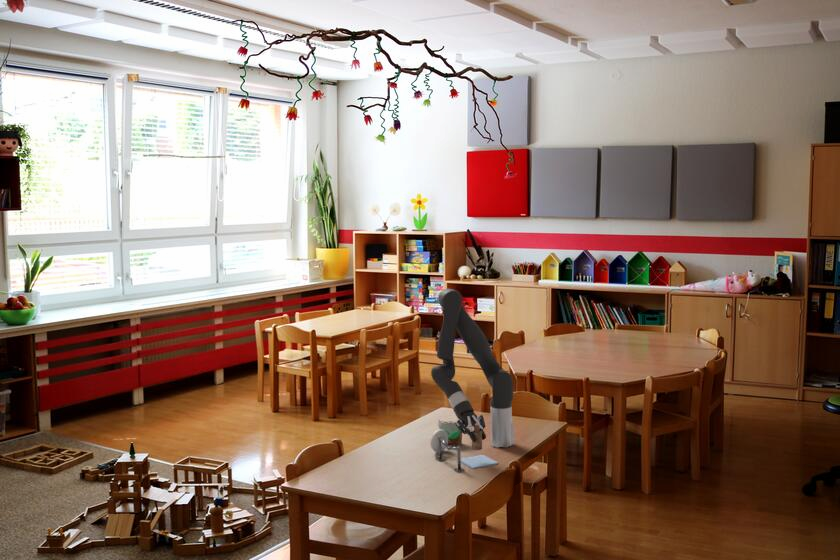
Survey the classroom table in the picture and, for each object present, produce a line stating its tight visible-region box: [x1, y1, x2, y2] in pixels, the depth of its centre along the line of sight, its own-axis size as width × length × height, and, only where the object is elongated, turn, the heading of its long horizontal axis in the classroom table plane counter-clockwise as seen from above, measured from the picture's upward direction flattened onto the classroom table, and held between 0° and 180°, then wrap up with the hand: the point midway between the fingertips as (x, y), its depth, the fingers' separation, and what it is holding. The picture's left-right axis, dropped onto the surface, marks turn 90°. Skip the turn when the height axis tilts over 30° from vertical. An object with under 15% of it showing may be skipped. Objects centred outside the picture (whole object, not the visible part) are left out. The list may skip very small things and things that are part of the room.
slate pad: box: [461, 454, 499, 470], centre depth 323 cm, size 12×12×1 cm
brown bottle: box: [471, 424, 483, 451], centre depth 322 cm, size 4×4×10 cm
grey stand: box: [435, 437, 465, 473], centre depth 320 cm, size 3×19×10 cm, turn 27°
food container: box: [436, 419, 463, 446], centre depth 348 cm, size 12×6×10 cm, turn 68°
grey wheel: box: [430, 428, 448, 454], centre depth 337 cm, size 10×4×10 cm, turn 139°
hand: (480, 439), depth 320 cm, fingers closed on brown bottle, 4 cm apart
